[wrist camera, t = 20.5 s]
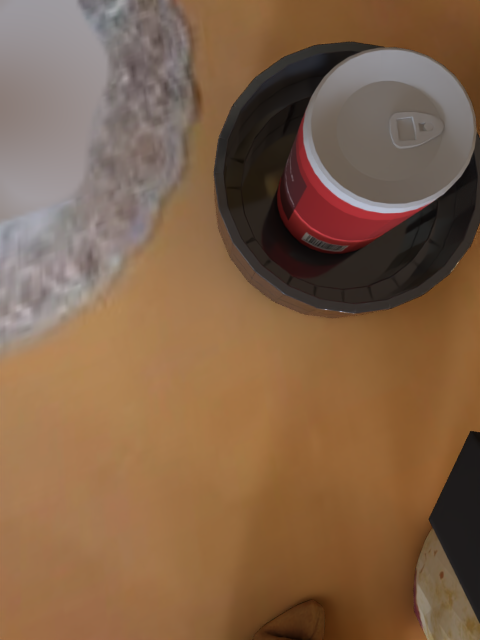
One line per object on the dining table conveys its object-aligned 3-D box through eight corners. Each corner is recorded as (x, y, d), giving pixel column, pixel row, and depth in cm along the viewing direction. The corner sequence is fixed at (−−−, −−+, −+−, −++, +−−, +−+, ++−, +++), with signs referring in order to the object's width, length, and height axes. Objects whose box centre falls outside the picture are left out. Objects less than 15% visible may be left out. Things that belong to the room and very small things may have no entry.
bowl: (180, 140, 32) (172, 98, 26) (387, 61, 33) (421, 4, 27) (268, 353, 31) (279, 355, 26) (476, 266, 32) (529, 250, 27)
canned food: (405, 230, 31) (506, 169, 20) (302, 275, 31) (347, 237, 20) (361, 131, 32) (436, 18, 21) (257, 174, 31) (278, 81, 20)
